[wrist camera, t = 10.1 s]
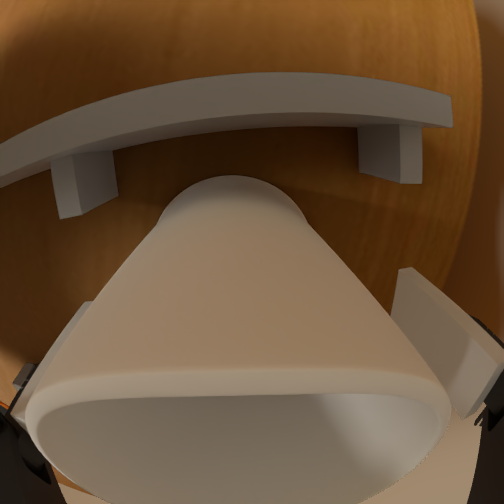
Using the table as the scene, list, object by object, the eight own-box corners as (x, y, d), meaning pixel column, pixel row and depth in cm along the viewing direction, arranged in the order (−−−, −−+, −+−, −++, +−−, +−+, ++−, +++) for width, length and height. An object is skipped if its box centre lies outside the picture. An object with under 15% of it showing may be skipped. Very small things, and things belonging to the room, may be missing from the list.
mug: (375, 274, 16) (502, 423, 4) (283, 364, 18) (321, 531, 7) (216, 139, 12) (101, 83, 1) (126, 270, 14) (16, 458, 3)
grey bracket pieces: (32, 372, 17) (6, 415, 12) (-37, 190, 11) (-89, 212, 5) (357, 362, 18) (388, 423, 13) (375, 107, 12) (450, 96, 6)
